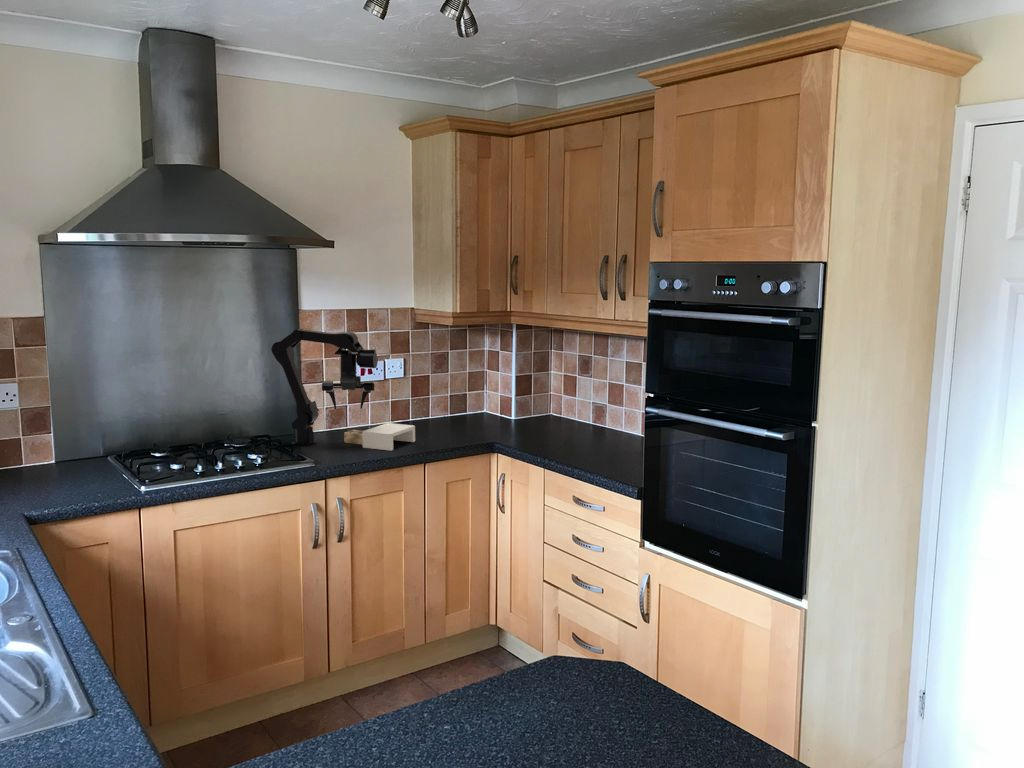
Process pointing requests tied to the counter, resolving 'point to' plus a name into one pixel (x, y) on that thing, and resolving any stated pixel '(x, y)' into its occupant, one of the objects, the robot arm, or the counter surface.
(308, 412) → the robot arm
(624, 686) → the counter surface
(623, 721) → the counter surface
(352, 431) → the brown wooden box
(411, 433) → the shelf
